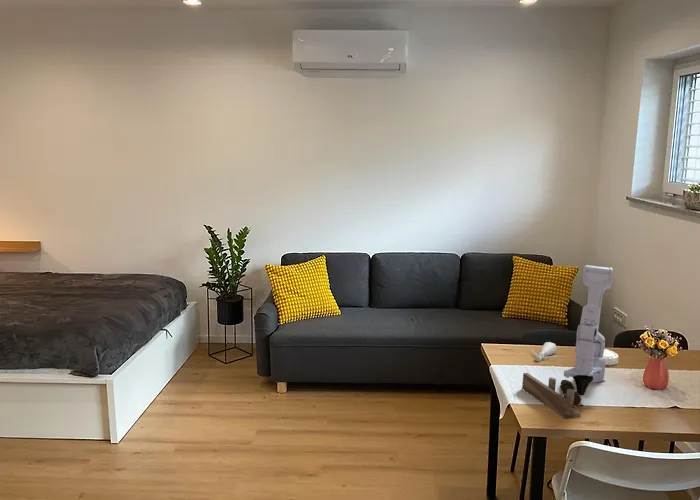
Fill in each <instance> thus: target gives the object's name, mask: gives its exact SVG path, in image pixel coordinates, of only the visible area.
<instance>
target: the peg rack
mask: <svg viewBox="0 0 700 500" xmlns="http://www.w3.org/2000/svg"><path fill="white" fill-rule="evenodd" d="M556 384H557V379H556V378H555V377H549V378H548V385H547V384H545V383H543V382H542V381H540V380H539V379H538V378H536V377H534V376H533V375H531V374H530V373H528V372H524V373H523V374H522V385H521V386H522V387H521V389H522V390H523V389H524V390H525V391H524V390H523V391H524V392H526V393H527V392H528V393H527V394H528V395H530V396H531V395H532V396H531V397H532V398H534V397H535V398H534V399H536V400H537V401H538V400H539V401H538V402H540V403H541V404H543V405H544V406H545V407H547V408H548V409H549V410H551V411H552V412H554V413H555V414H556V415H558V416H559V417H561V418H562V419H564V420H567V419H572V418H580V417H581V413H582V412H579V411H578V410H577V409H576V408H574V406H573V402H574V393H575V391H576V390H572V389H567V396H566V398H565V397H563V395H562V394H560V393H559V392H557V391H556Z"/></svg>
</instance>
